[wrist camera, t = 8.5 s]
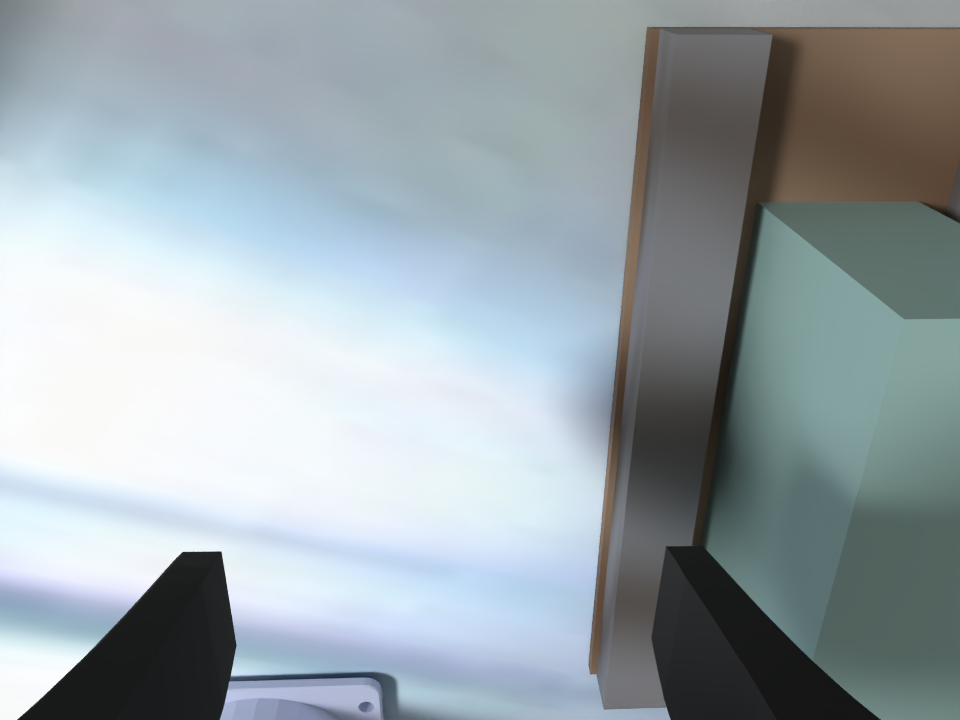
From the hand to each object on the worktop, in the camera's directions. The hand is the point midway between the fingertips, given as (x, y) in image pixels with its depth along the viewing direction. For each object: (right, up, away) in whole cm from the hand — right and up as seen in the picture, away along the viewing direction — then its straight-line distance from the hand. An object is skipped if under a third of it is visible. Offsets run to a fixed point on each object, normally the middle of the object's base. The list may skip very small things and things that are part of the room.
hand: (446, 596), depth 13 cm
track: (+9, +2, +10) cm, 14 cm away
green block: (+9, +2, +9) cm, 13 cm away
